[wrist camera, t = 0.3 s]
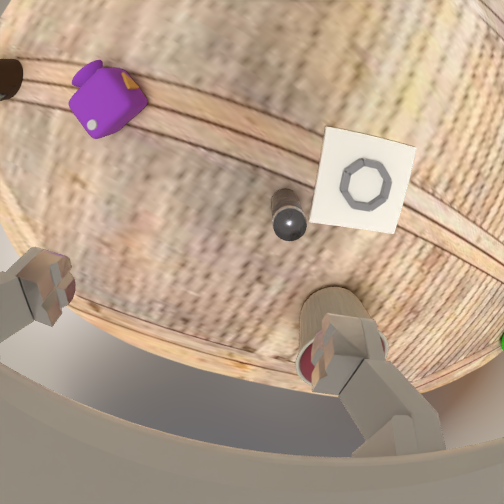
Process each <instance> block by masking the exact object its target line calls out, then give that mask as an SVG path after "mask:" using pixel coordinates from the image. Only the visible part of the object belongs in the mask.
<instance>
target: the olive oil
mask: <svg viewBox="0 0 504 504" xmlns="http://www.w3.org/2000/svg"><path fill="white" fill-rule="evenodd" d="M22 77H23V70H22V66H21V64H20V62H19V61H17V60H15V59H0V101H2V100H6V99H9V98H11V97H13V96H14V95H15V94H16V93H17V91H18V90H19V88H20V85H21V82H22Z"/></svg>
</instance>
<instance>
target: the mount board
mask: <svg viewBox="0 0 504 504" xmlns="http://www.w3.org/2000/svg"><path fill="white" fill-rule="evenodd" d="M416 149H417V148H416V147H413V146H409V145H406V144H402V143H399V142H395V141H391V140H387V139H383V138H379V137H375V136H371V135H367V134H362V133H358V132H353V131H348V130H344V129H339V128H334V127H328V126H325V132H324V138H323V144H322V149H321V155H320V161H319V167H318V172H317V178H316V183H315V189H314V194H313V199H312V204H311V209H310V215H309V222H312V223H320V224H327V225H335V226H342V227H349V228H356V229H363V230H370V231H377V232H384V233H390V234H394V232H395V229H396V226H397V222H398V219H399V216H400V212H401V209H402V205H403V202H404V198H405V194H406V191H407V187H408V183H409V179H410V175H411V171H412V167H413V162H414V158H415V154H416Z"/></svg>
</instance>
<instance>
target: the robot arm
mask: <svg viewBox="0 0 504 504" xmlns="http://www.w3.org/2000/svg"><path fill="white" fill-rule="evenodd" d="M71 268H72V265H71V261H70V258H68V257H67V256H64V255H61V254H58V253H55V252H52V251H48V250H44V249H41V248H38V247H32V248H30V249H29V250H28V251H27V252H26V253H25V254H24V255H23V256H22V257H21V258H20V259H19V260H18V261H17V262H15V263H14V264H13V265H12V266H11V267H10V268H9V269H8V270H7V271H6V272H3V271H2V272H0V343H1V342H2V341H4V340H5V339H7V338H8V337H10V336H11V335H13V334H15V333H16V332H18V331H19V330H21V329H22V328H24V327H25V326H27V325H29V324H30V323H32V322H33V321H34V320H35V321H38V322H41V323H43V324H46V325H49V326H51V327H52V326H53V325H54V324H55V322H56V321H57V319H58V318H59V317H60V316H61V314H62V307H64V306H67V305H69V303H70V302H71V300H72V299H73V296H74V293H75V279H74V277H73V276H72V274H71V273H70V270H71ZM311 362H312V364H313V365H314V366H315V368H314V370H313V372H312V392H317V393H325V394H333V395H339V396H338V397H339V398H340V400H341V401H342V403H343V405H344V406H345V408H346V410H347V411H348V413H349V414H350V416H351V417H352V419H353V421H354V422H355V424H356V426H357V427H358V429H359V430H360V432H361V434H362V435H363V437H364V438H365V440H366V442H365V443H364V444H363V445H362V446H360V447H359V448H358V449H357V450H355V451H354V452H353V453H352V457H349V458H348V457H311V456H298V455H285V454H276V453H267V452H258V451H252V450H245V449H238V448H233V447H227V446H222V445H216V444H211V443H207V442H202V441H197V440H193V439H189V438H184V437H180V436H177V435H172V434H169V433H165V432H161V431H158V430H155V429H151V428H148V427H144V426H141V425H138V424H135V423H132V422H129V421H126V420H123V419H120V418H117V417H115V416H112V415H109V414H106V413H104V412H101V411H99V410H96V409H93V408H91V407H89V406H86V405H84V404H81V403H79V402H76V401H74V400H72V399H70V398H67V397H65V396H63V395H61V394H59V393H57V392H54V391H52V390H50V389H48V388H46V387H44V386H42V385H40V384H38V383H36V382H34V381H32V380H30V379H29V378H27V377H25V376H23V375H21V374H19V373H18V372H16V371H14V370H12V369H11V368H9V367H7V366H5V365H4V364H2V363H0V504H504V437H503V438H499V439H496V440H492V441H488V442H483V443H479V444H475V445H469V446H465V447H459V448H454V449H449V450H446V447H445V442H444V437H443V433H442V428H441V424H440V420H439V416H438V413H437V411H436V410H435V409H434V408H433V407H432V406H431V405H430V404H429V403H428V402H427V401H426V399H425V398H424V397H423V396H422V395H421V394H420V393H419V392H418V391H417V390H416V388H415V387H414V386H413V385H412V384H411V383H410V382H409V381H408V380H407V379H406V378H405V377H404V375H403V374H402V373H401V372H400V371H399V370H398V369H397V368H396V367H395V366H394V365H393V364H392V363H391V362H390V361H386V359H385V355H384V351H383V347H382V343H381V339H380V335H379V331H378V328H377V324H376V321H375V320H374V319H367V318H357V317H351V316H344V315H338V314H331V313H326V315H325V316H324V318H323V320H322V330H320V331H319V332H317V333H316V336H315V338H314V341H313V345H312V350H311Z"/></svg>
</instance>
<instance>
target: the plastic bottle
mask: <svg viewBox="0 0 504 504" xmlns="http://www.w3.org/2000/svg"><path fill="white" fill-rule="evenodd" d="M501 347H502V349H503V351H504V334H503V337H502V342H501Z"/></svg>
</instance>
